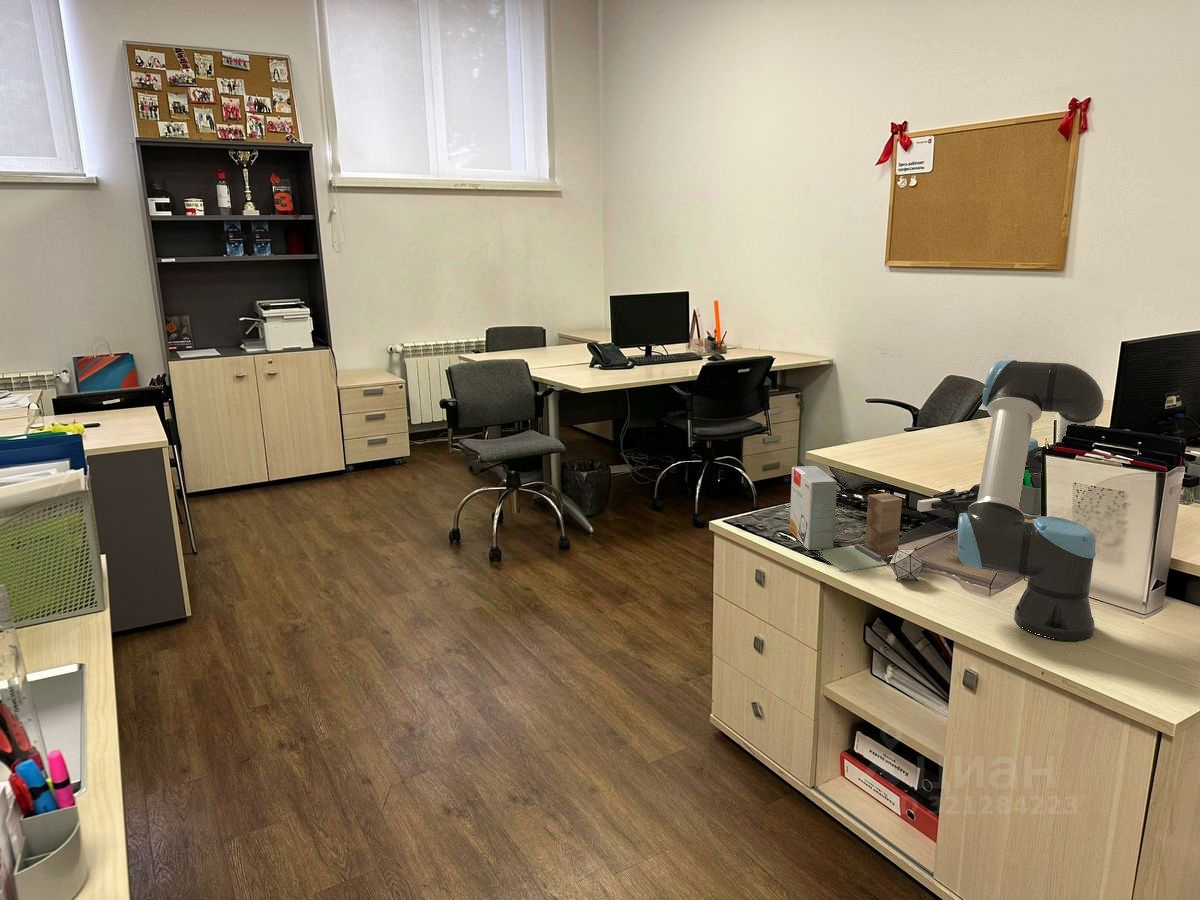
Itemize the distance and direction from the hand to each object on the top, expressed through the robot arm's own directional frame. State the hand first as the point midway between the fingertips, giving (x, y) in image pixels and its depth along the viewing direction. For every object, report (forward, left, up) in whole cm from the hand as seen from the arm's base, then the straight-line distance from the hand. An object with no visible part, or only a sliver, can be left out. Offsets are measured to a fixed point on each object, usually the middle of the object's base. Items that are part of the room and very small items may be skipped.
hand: (919, 506), depth 218 cm
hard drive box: (+15, +24, -12) cm, 30 cm away
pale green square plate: (0, +21, -12) cm, 25 cm away
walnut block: (0, +12, -12) cm, 17 cm away
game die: (-16, +17, -12) cm, 26 cm away
